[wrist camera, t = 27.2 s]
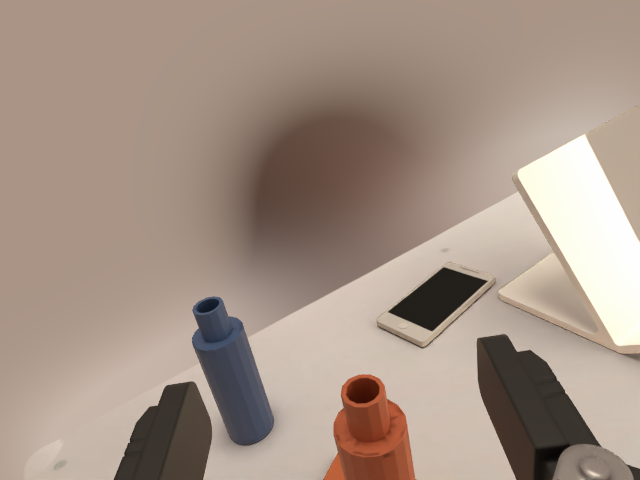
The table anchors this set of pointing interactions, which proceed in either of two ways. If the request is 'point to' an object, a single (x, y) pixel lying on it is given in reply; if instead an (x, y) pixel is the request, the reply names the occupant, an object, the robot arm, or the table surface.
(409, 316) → the smartphone
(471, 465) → the table surface
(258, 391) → the blue bottle
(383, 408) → the terracotta bottle
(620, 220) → the tablet stand
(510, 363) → the robot arm
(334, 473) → the terracotta mat
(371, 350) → the table surface
